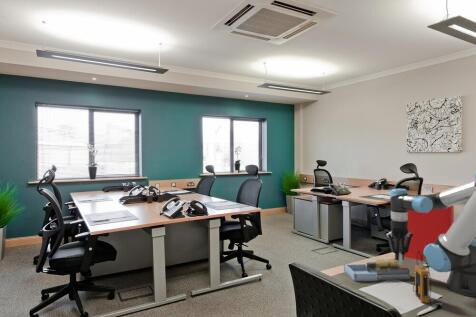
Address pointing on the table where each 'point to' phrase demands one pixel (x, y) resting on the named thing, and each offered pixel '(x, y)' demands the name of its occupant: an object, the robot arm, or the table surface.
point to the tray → (359, 272)
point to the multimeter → (422, 283)
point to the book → (427, 229)
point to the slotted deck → (387, 276)
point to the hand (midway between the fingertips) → (399, 266)
